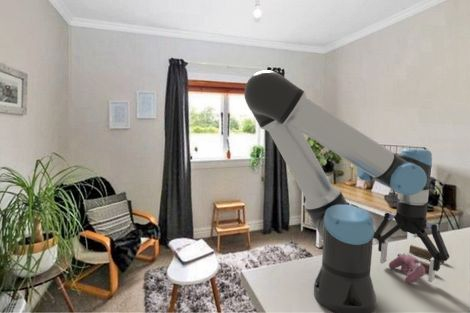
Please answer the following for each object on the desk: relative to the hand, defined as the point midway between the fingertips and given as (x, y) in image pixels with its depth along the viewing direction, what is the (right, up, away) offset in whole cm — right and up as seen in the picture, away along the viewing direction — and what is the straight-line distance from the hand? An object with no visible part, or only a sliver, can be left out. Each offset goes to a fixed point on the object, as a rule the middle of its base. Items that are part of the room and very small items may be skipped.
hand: (405, 270), depth 85 cm
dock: (+10, -1, +8) cm, 13 cm away
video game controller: (0, -2, 0) cm, 2 cm away
